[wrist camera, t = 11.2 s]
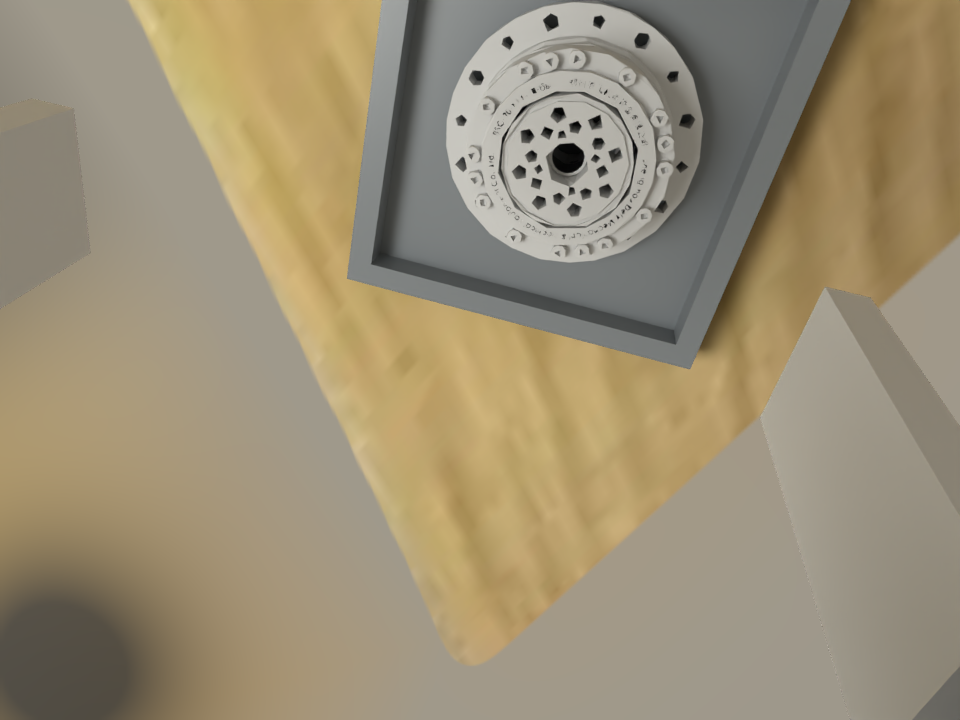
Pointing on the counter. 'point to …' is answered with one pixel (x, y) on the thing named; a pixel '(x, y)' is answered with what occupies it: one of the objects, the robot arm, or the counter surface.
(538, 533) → the counter surface
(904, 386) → the robot arm
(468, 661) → the counter surface
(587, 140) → the mechanical component
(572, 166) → the dock tray
